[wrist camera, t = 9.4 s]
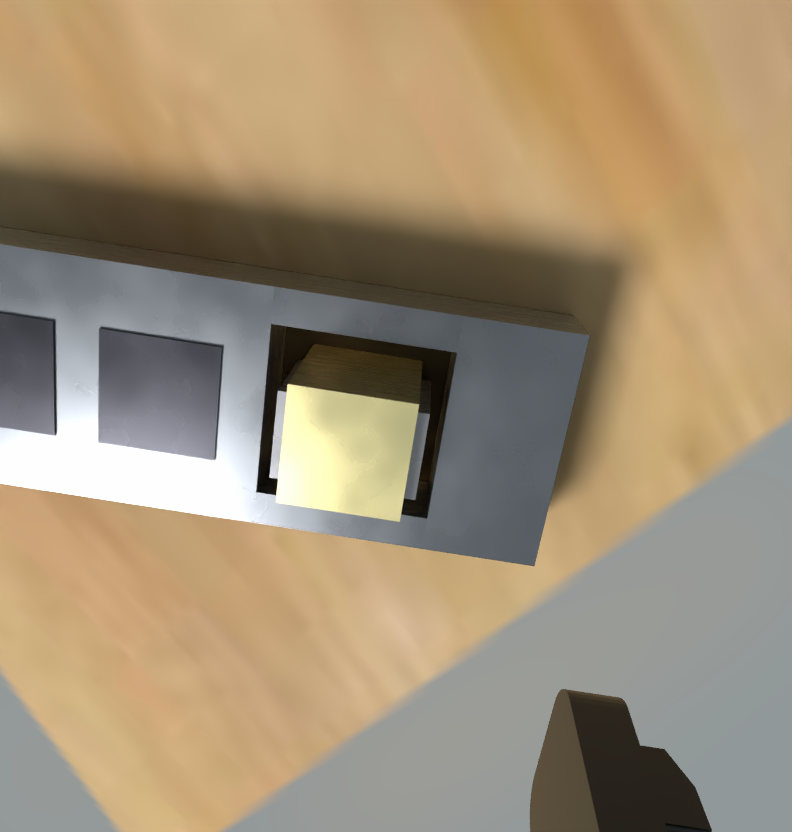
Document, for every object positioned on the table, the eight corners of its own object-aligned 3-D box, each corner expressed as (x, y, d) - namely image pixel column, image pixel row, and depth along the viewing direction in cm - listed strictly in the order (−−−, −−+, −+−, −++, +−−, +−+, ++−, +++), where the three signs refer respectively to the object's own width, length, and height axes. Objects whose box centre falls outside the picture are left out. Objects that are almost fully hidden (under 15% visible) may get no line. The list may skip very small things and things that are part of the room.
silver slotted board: (-46, 219, 26) (-107, 228, 23) (573, 315, 26) (590, 336, 23) (-33, 439, 29) (-86, 471, 26) (524, 525, 29) (534, 567, 26)
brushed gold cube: (303, 341, 27) (274, 382, 22) (433, 362, 27) (432, 406, 22) (292, 442, 28) (263, 500, 24) (416, 462, 28) (412, 523, 24)
